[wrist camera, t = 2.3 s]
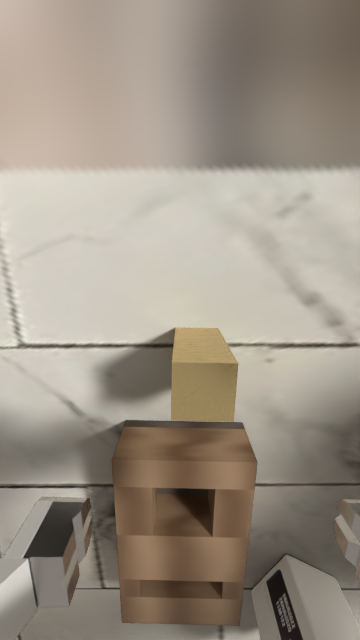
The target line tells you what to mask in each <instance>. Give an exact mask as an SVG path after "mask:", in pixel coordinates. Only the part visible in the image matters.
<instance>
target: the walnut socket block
mask: <svg viewBox="0 0 360 640" xmlns="http://www.w3.org/2000/svg"><path fill="white" fill-rule="evenodd" d="M112 469H113V485H114V501H115V518H116V534H117V550H118V566H119V582H120V599H121V615H122V623H157V624H195V625H233V626H239V625H240V616H241V607H242V598H243V589H244V580H245V571H246V562H247V553H248V544H249V535H250V526H251V517H252V508H253V499H254V489H255V480H256V471H257V460H256V457H255V455H254V452H253V449H252V447H251V444H250V441H249V439H248V436H247V433H246V431H245V428H244V426H243V423H236V422H187V421H138V420H126V422H125V425H124V427H123V430H122V433H121V436H120V438H119V441H118V444H117V447H116V449H115V452H114V455H113V458H112Z"/></svg>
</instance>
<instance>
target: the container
mask: <svg viewBox="0 0 360 640" xmlns="http://www.w3.org/2000/svg"><path fill="white" fill-rule="evenodd" d="M251 596H252V601H253V605H254V610H255V615H256V620H257V625H258V629H259V634H260V639H261V640H360V627H359V625H358V623H357V621H356V619H355V617H354V615H353V613H352V611H351V609H350V607H349V604H348V602H347V600H346V598H345V596H344V594H343V592H342V590H341V588H340V586H339V584H338V582H337V580H336V579H335V578H334V577H333V576H331V575H329V574H327V573H324V572H322V571H320V570H318V569H316V568H314V567H312V566H310V565H308V564H306V563H304V562H302V561H300V560H298V559H295V558H293V557H291V556H289V555H285V556H284V557H283V558H282V559H281V560H280V561H279V562H278V563H277V564H276V565H275V566H274V567H273V568H272V569H271V570H270V571H269V572H268V574H267V575H266V576H265V577H264V578H263V579H262V580H261V581H260V582H259V583H258V584H257V585H256V586H255V587H254V588H253V589H252V591H251Z"/></svg>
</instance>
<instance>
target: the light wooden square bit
mask: <svg viewBox="0 0 360 640" xmlns="http://www.w3.org/2000/svg"><path fill="white" fill-rule="evenodd" d="M237 372H238V362H237V361H236V359H235V357H234V355H233V353H232V352H231V350H230V348H229V346H228V345H227V343H226V341H225V339H224V337H223V336H222V334H221V332H220V330H219V329H218V328H175V337H174V346H173V356H172V395H171V420H182V421H231V422H234V410H235V397H236V385H237Z"/></svg>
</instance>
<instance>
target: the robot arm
mask: <svg viewBox="0 0 360 640" xmlns="http://www.w3.org/2000/svg"><path fill="white" fill-rule="evenodd" d="M90 507H91V505H90V498H70V497H41V498H40V499H39V500H38V501H37V502H36V503H35V505H34V507H33V508H32V510H31V512H30V513H29V515H28V517H27V518H26V520H25V522H24V523H23V525H22V526H21V528H20V530H19V531H18V533H17V535H16V536H15V538H14V540H13V541H12V543H11V545H10V546H9V548H8V550H7V551H6V553H5V554H4V556H3V558H0V640H15V639H16V637H17V636H18V635H19V633H20V632H21V631H22V630H23V628H24V627H25V626H26V624H27V623H28V622H29V621H30V619H31V618H32V617H33V615H34V614H35V613H36V612H37V608H53V607H69V606H70V603H71V600H72V597H73V593H74V590H75V587H76V584H77V581H78V578H79V566H78V564H79V563H80V562H81V561H82V560H83V558H84V557H85V556H86V553H87V550H88V547H89V543H90V538H91V533H92V517H91V516H90V515H89V514H88V513H89V510H90ZM337 509H338V510H339V512H340V515H339V516H338V517H337V518H335V521H334V533H335V538H336V540H337V543H338V545H339V548H340V550H341V551H342V553H343V555H344V557H345V558H346V559H347V560H348V561H349V562H350V563H351V564H353V565H354V566H355V572H356V578H357V580H358V582H359V583H360V499H342V500H340V501H339V502H338V507H337Z"/></svg>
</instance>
